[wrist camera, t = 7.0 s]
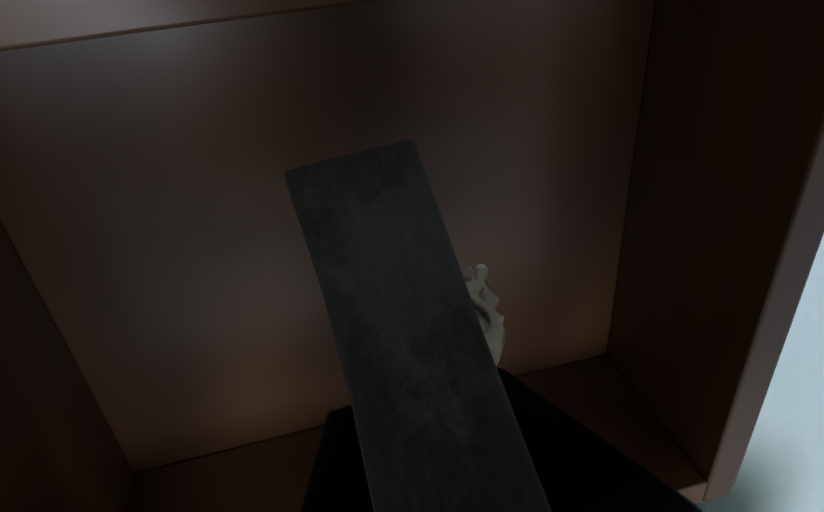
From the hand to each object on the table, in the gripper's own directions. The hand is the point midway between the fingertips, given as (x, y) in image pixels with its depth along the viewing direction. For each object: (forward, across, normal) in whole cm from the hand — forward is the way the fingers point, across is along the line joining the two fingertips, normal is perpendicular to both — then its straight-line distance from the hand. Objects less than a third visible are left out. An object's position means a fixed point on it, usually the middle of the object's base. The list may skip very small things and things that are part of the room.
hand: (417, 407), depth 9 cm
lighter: (+1, 0, 0) cm, 1 cm away
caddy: (+6, 0, 0) cm, 6 cm away
